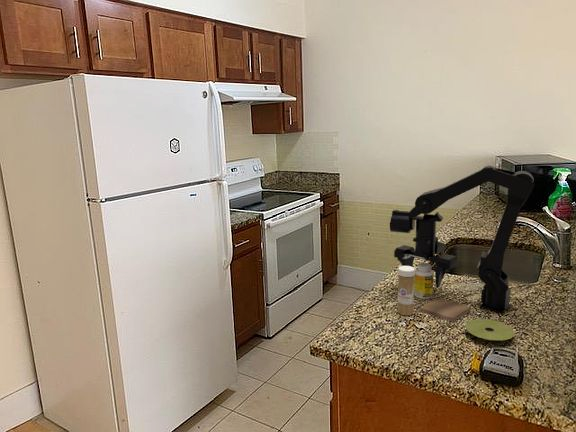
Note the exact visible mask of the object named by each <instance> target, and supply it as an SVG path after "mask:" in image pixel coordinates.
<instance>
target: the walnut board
mask: <svg viewBox="0 0 576 432" xmlns="http://www.w3.org/2000/svg"><path fill="white" fill-rule="evenodd" d="M471 308H472V307H471V306H469V305H465V304H462V303H458V302H455V301H453V300H452V301H451V300H448V299H445V298H442V297H437V298H435V299H433V300H432V301H429V302H428V303H425V304H424V305H422V306H420V308H419V311H420V312H422V313H425V314H428V315H431V316H435V317H437V318H439V319H442V320H445V321H449V322H451V323H454V322H455V321H457V320H458V319H460V318H462V317H463V316H465V315H466V314H467V313H469V312H470V311H471V310H472V309H471Z"/></svg>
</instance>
